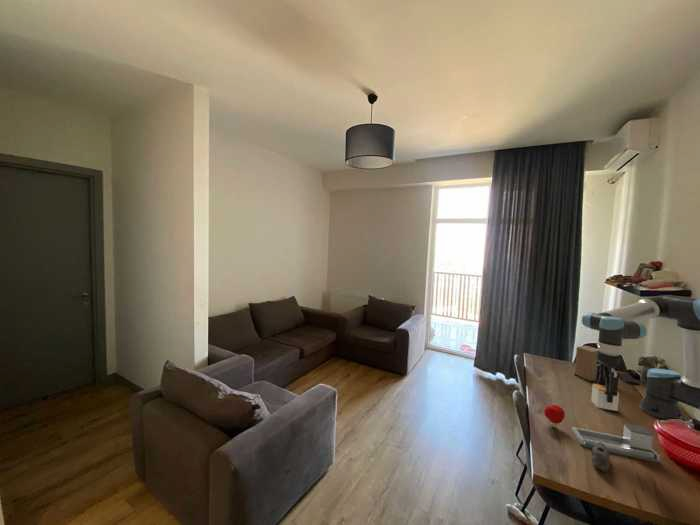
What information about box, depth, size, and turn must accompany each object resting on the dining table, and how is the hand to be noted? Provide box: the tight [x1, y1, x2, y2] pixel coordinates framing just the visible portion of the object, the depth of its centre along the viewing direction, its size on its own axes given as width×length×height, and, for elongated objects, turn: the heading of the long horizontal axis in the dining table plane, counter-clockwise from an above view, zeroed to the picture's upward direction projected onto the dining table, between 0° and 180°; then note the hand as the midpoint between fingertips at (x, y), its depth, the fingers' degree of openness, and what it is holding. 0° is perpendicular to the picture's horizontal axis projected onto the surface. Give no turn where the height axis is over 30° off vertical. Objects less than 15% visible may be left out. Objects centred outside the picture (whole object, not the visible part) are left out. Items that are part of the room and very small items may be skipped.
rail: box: [571, 423, 661, 464], centre depth 123 cm, size 26×10×10 cm, turn 70°
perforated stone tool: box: [591, 442, 610, 473], centre depth 113 cm, size 15×5×7 cm, turn 137°
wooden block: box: [574, 345, 599, 382], centre depth 190 cm, size 10×10×20 cm
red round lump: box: [543, 404, 566, 428], centre depth 135 cm, size 9×7×10 cm
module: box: [590, 383, 620, 412], centre depth 124 cm, size 7×6×8 cm
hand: (604, 405), depth 124 cm, fingers closed on module, 5 cm apart
